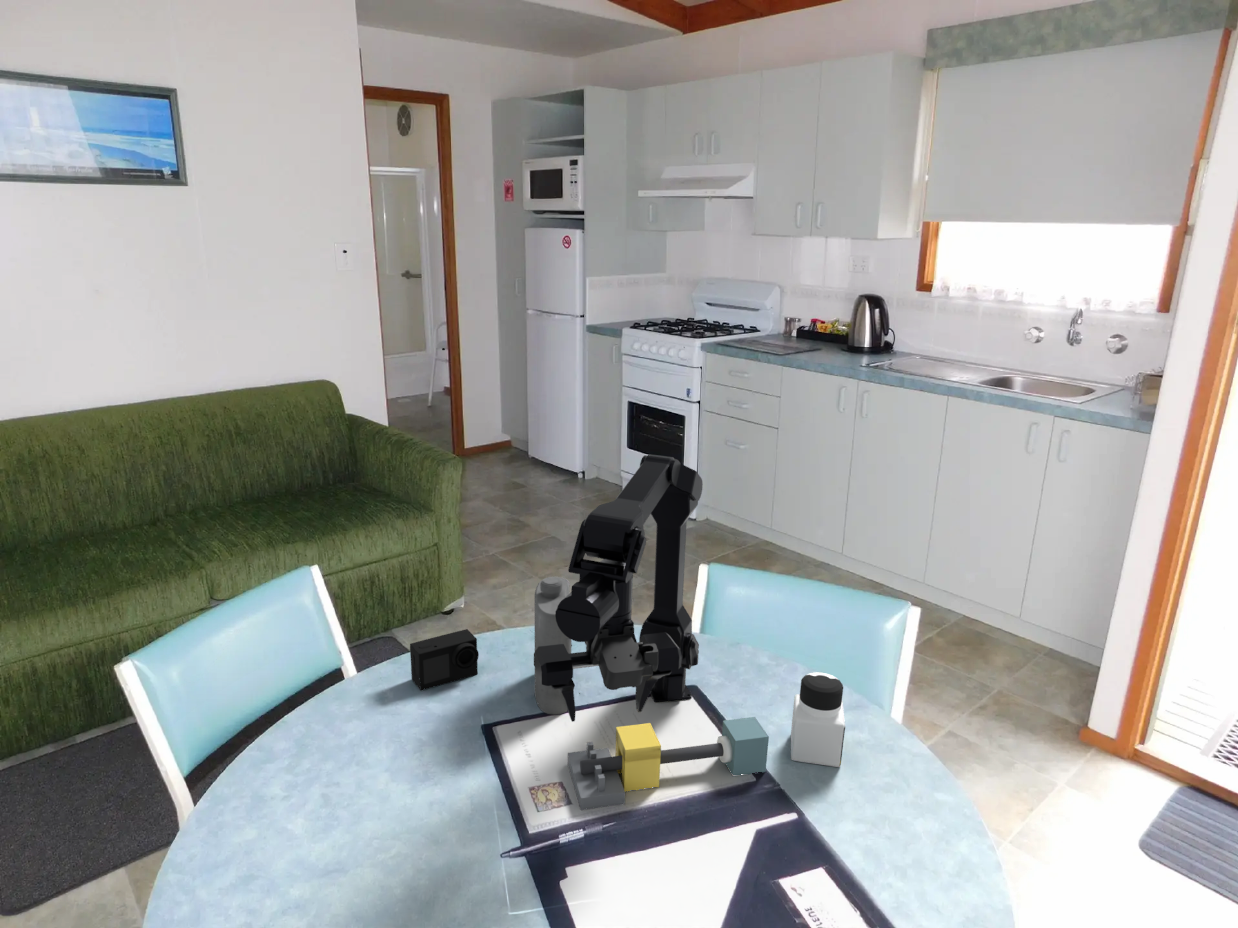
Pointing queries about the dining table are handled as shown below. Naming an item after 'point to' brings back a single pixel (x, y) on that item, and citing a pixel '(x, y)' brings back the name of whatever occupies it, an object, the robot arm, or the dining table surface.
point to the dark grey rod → (711, 750)
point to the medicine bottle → (818, 721)
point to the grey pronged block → (595, 780)
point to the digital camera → (444, 659)
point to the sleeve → (638, 756)
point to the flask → (549, 637)
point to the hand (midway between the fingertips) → (606, 715)
